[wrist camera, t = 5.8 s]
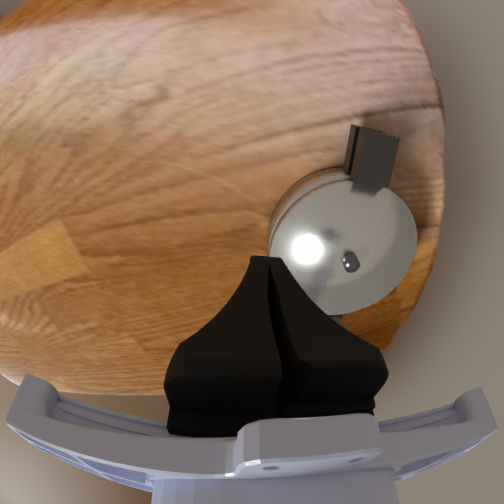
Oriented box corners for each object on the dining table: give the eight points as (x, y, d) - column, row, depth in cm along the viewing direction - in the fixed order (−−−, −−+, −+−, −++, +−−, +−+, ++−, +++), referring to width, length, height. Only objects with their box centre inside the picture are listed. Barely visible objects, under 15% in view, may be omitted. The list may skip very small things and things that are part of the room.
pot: (371, 303, 27) (380, 324, 25) (258, 298, 27) (259, 322, 24) (423, 142, 19) (444, 152, 16) (282, 111, 18) (287, 114, 15)
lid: (384, 309, 24) (390, 322, 23) (260, 305, 24) (261, 320, 22) (442, 151, 16) (456, 158, 15) (287, 114, 15) (290, 117, 14)
